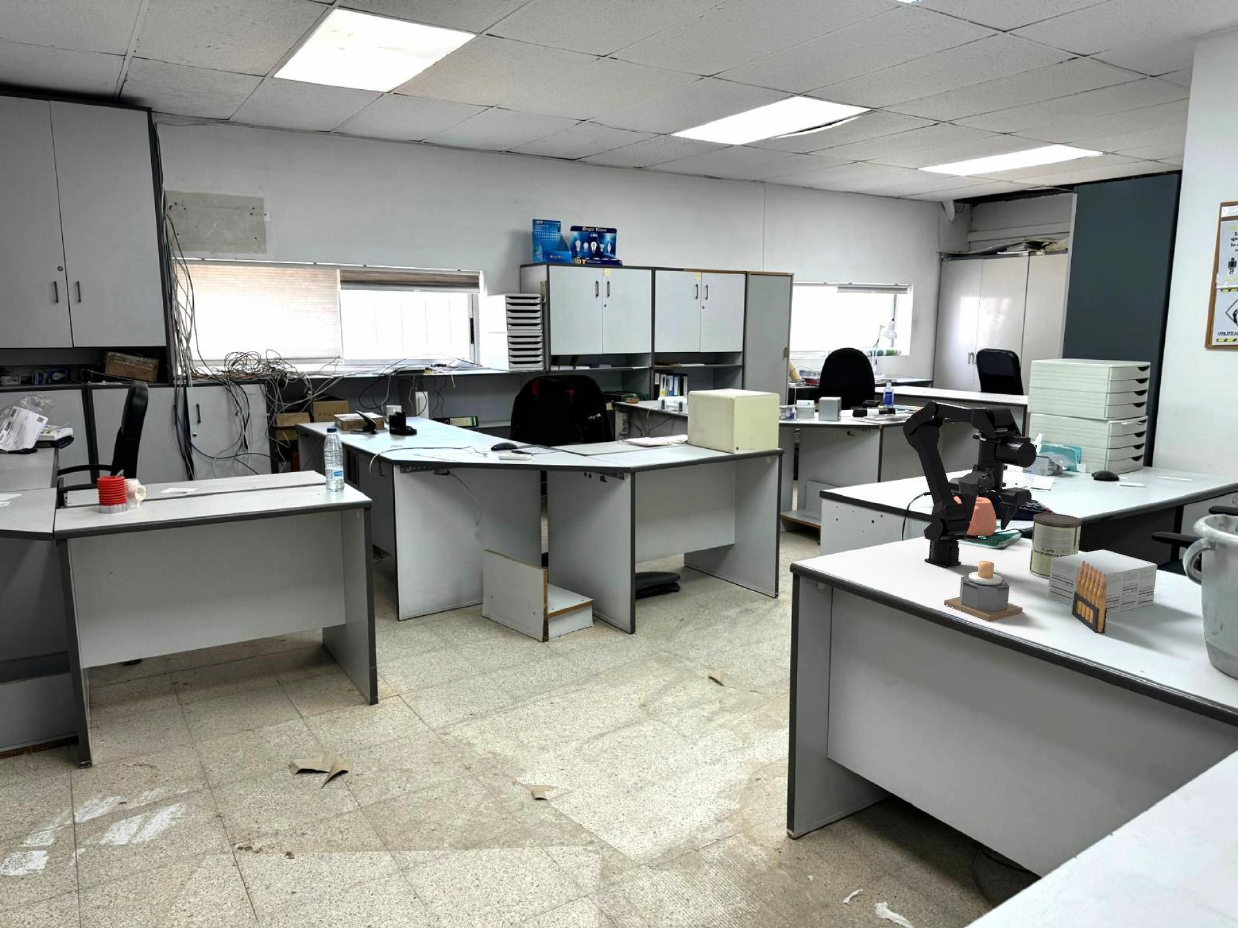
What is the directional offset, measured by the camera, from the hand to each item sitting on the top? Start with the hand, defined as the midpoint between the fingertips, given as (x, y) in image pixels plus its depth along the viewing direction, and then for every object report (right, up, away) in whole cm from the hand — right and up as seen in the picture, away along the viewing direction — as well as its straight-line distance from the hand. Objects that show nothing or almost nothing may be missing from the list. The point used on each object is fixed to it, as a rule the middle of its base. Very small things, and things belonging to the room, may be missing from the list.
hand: (985, 525), depth 194 cm
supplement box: (+19, -16, -13) cm, 28 cm away
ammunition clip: (+9, -18, -26) cm, 33 cm away
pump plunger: (-9, -15, -18) cm, 25 cm away
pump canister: (-9, -16, -18) cm, 26 cm away
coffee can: (+19, -12, +6) cm, 23 cm away
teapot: (+14, -6, +42) cm, 45 cm away
